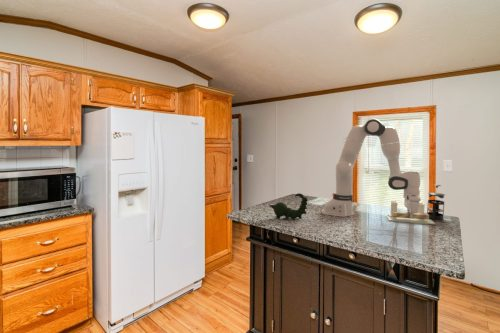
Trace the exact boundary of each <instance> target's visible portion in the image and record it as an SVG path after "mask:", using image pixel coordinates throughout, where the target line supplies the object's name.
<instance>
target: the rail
mask: <svg viewBox="0 0 500 333" xmlns="http://www.w3.org/2000/svg"><path fill="white" fill-rule="evenodd" d="M409 214H410V213H408V212H403V211H397V212H393V217H398V218H410V217H409ZM411 219H424V220H430V219H429V215H428V214H427V213H424V214H421V213H414V214H413V218H411Z"/></svg>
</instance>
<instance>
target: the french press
mask: <svg viewBox="0 0 500 333" xmlns="http://www.w3.org/2000/svg"><path fill="white" fill-rule="evenodd" d="M433 186H434V187H435V188H436V189H435V190H436V192H428V197H429V198H431V197H435V199H427V211H426V214H428V215H429V220H432V221H434V222H435V221H436V222H442V220H443V221H444V217H445V216H444V214H445V213H444V212H445V201H443V200H439V199H444V198H445V196H446V194H444V193H441V192H438V188H439V187H442V185H441V184H433ZM437 197H439V199H437ZM429 204H432V207H429ZM442 205H443V206H442ZM440 206H442V209H441V208H440ZM429 211H430V212H429ZM441 212H442V213H441Z"/></svg>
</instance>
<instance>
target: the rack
mask: <svg viewBox="0 0 500 333" xmlns="http://www.w3.org/2000/svg"><path fill="white" fill-rule="evenodd" d="M425 206H426V205H425V203H423V202H419V211H418V213H421V214H425ZM393 212H398V202H397V201H396V200H391V202H390V213H388V217H393Z"/></svg>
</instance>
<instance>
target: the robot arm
mask: <svg viewBox="0 0 500 333" xmlns="http://www.w3.org/2000/svg"><path fill="white" fill-rule="evenodd" d="M367 136H368V137H369V136H371V137H373V136H374V137H375V136H376V137H378V138H379V141H380V148H381V151H382V154H383V157H385V158H386V160H387V162H388V166H389V176H388V182H387V184H388V186H389V188H391V189H392V190H395V191H399V190H403V196H402V197H403V198H404V201H403V205H404V207H405V208H406V211H407V212H406V213H410V214H409V217H410V218H413V214H414V213H418V211H419V203H420V202H421V196H420V191H421V190H420V187H421V176H420V175H421V174H419V172H417V171H414V170H411V169H410V170H405V171H403V172H401V167H400V154H401V144H400V138H399V135H398V132H397V130H396V128H395V127H393V126H385V125H384V124H383V123H382V122H381V120H379V119H377V118H370V119H369V120H367V121H366V122H365V124H364V125H354V126H352V127H351V129H350V130H349V132H348V135H347V136H346V140H345V141H344V142H345V143H344V145H343V148H342V151H341V154H340V157H339V160H338V162H337V164H336V166H335V193H334V192H332V195H331V196H332V199H330V200H329V201H327V202H326V203H325V206H324V208H323V209H321V214H323V215H326V216H327V215H328V216H335V217H343V218H346V217H350V216H351V217H352V216H354V215H355V213H354V208H353V203H354V196H353V186H354V185H353V184H354V183H353V182H354V181H353V179H354V178H353V172H354V167H355V165H356V163H357V162H356V161H357V159H358V157H359V155H360V151H361V150H362V149H361V148H362V147H363V144H364V141H365V139H366V137H367Z"/></svg>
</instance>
